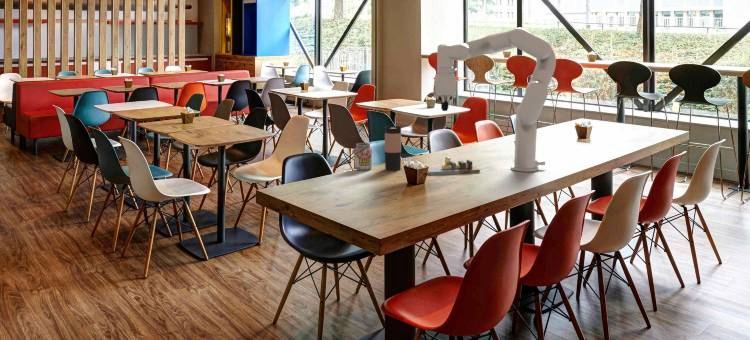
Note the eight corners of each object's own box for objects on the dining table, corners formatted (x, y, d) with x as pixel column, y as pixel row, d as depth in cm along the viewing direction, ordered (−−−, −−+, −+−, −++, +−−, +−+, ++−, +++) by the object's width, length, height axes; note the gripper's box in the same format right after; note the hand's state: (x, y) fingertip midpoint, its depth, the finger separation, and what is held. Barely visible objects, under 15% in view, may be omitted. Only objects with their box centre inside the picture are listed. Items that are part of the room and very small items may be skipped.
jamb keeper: (458, 173, 310) (459, 163, 309) (452, 170, 319) (452, 159, 318) (479, 172, 312) (480, 162, 311) (473, 169, 321) (473, 158, 320)
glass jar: (354, 171, 317) (353, 146, 315) (351, 167, 325) (350, 143, 323) (373, 170, 319) (373, 145, 316) (370, 167, 327) (369, 142, 324)
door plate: (429, 175, 308) (429, 165, 307) (423, 171, 316) (424, 161, 315) (458, 173, 310) (459, 163, 309) (452, 170, 319) (452, 160, 318)
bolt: (443, 169, 312) (443, 158, 311) (441, 168, 314) (441, 157, 313) (468, 168, 314) (468, 156, 313) (466, 167, 316) (466, 156, 315)
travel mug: (381, 169, 322) (381, 127, 318) (394, 167, 326) (394, 125, 322) (391, 171, 316) (391, 129, 312) (404, 169, 320) (404, 127, 316)
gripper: (458, 70, 322) (457, 109, 325) (427, 71, 319) (427, 110, 322) (463, 71, 314) (462, 111, 318) (432, 72, 311) (431, 112, 315)
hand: (444, 110), depth 320 cm, fingers closed
